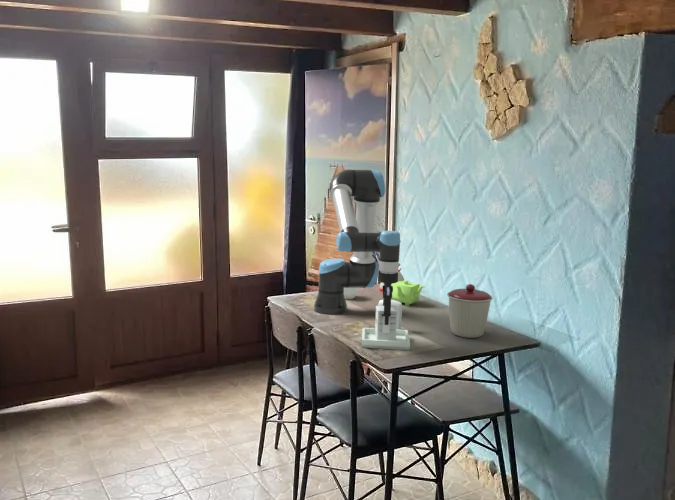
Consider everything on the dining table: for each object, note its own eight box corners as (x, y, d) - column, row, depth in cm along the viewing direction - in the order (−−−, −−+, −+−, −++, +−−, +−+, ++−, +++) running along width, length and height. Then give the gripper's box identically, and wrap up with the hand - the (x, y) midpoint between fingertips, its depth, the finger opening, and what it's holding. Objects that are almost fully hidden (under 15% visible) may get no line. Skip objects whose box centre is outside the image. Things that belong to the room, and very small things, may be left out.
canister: (435, 332, 261) (438, 282, 257) (465, 325, 271) (468, 278, 268) (468, 343, 246) (472, 291, 243) (498, 336, 257) (503, 286, 253)
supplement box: (374, 336, 248) (375, 305, 245) (393, 336, 248) (394, 305, 246) (376, 342, 240) (377, 310, 238) (396, 342, 241) (397, 310, 238)
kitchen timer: (383, 286, 341) (384, 259, 338) (408, 289, 336) (409, 262, 334) (376, 292, 328) (378, 264, 325) (402, 295, 323) (404, 266, 321)
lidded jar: (335, 295, 318) (336, 277, 316) (356, 295, 319) (357, 277, 318) (338, 300, 307) (338, 281, 306) (359, 300, 309) (360, 281, 307)
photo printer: (401, 328, 264) (403, 299, 262) (399, 331, 260) (401, 302, 258) (378, 325, 267) (379, 297, 265) (375, 328, 263) (376, 299, 261)
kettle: (424, 306, 301) (425, 283, 300) (396, 307, 298) (397, 284, 296) (413, 299, 316) (414, 277, 314) (386, 299, 312) (387, 277, 310)
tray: (361, 347, 237) (361, 339, 237) (362, 334, 253) (362, 327, 252) (409, 350, 236) (409, 342, 236) (407, 337, 252) (407, 329, 252)
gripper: (399, 277, 229) (396, 337, 233) (397, 266, 250) (394, 321, 254) (379, 276, 230) (376, 336, 233) (378, 265, 251) (375, 320, 254)
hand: (385, 328), depth 244 cm, fingers open, 9 cm apart
